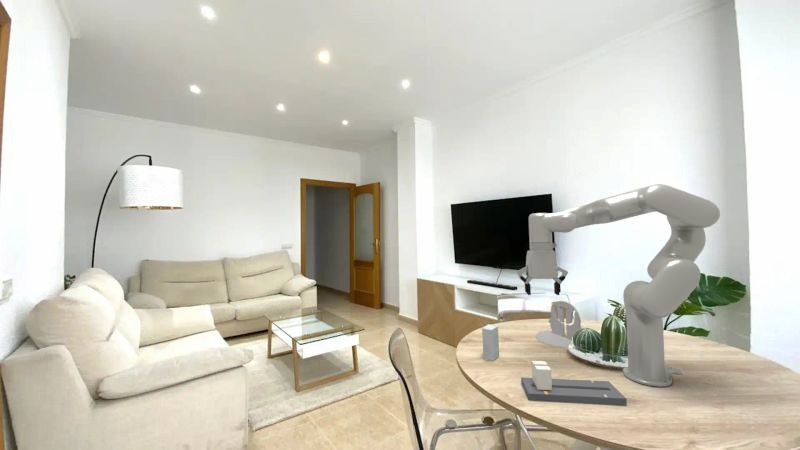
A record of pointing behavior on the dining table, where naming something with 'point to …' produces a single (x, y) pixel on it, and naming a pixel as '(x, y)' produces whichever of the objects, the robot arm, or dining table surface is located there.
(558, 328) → the ornament
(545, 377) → the fader tab
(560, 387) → the slider panel
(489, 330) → the skincare box
